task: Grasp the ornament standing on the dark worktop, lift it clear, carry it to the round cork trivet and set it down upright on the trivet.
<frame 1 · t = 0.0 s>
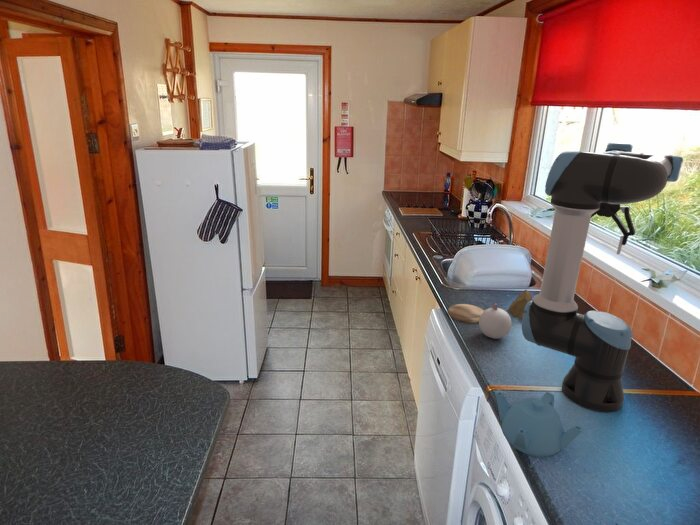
hand: (596, 249, 164), 28 cm above the worktop, fingers open, 13 cm apart
rock: (520, 317, 174), on the worktop
ornament: (492, 336, 159), on the worktop
teapot: (530, 440, 110), on the worktop
trivet: (467, 314, 174), on the worktop
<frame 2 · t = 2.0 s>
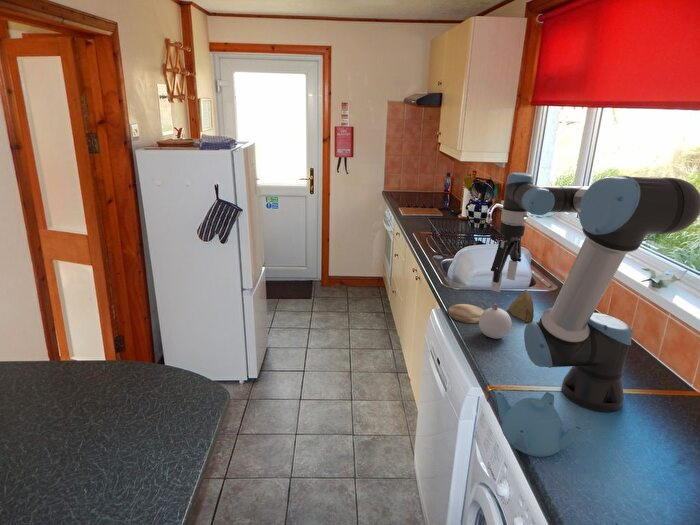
hand: (503, 285, 153), 19 cm above the worktop, fingers open, 13 cm apart
nothing on the worktop moved.
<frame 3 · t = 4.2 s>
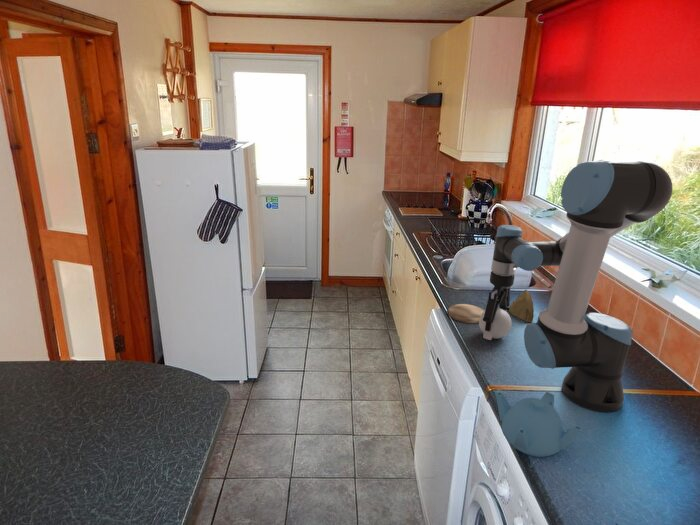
hand: (493, 332, 158), 1 cm above the worktop, fingers closed on ornament, 10 cm apart
ornament: (492, 336, 159), on the worktop, touching gripper
everything else where it was.
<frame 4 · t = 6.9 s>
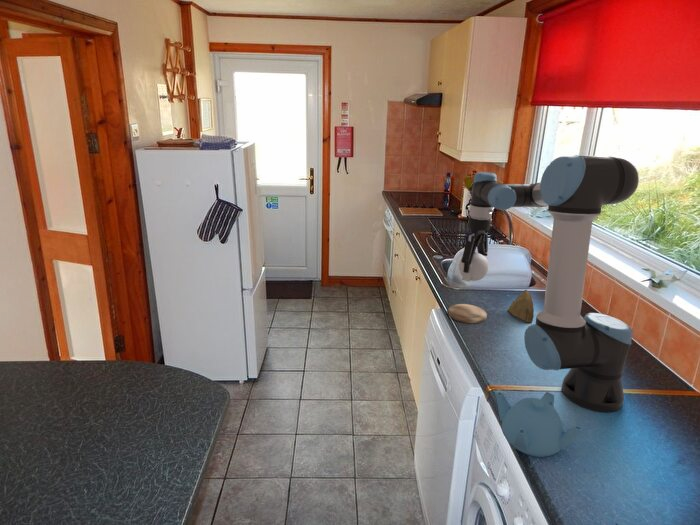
hand: (472, 276, 169), 16 cm above the worktop, fingers closed on ornament, 10 cm apart
ornament: (471, 280, 170), point 14 cm above the worktop, touching gripper
everything else where it was.
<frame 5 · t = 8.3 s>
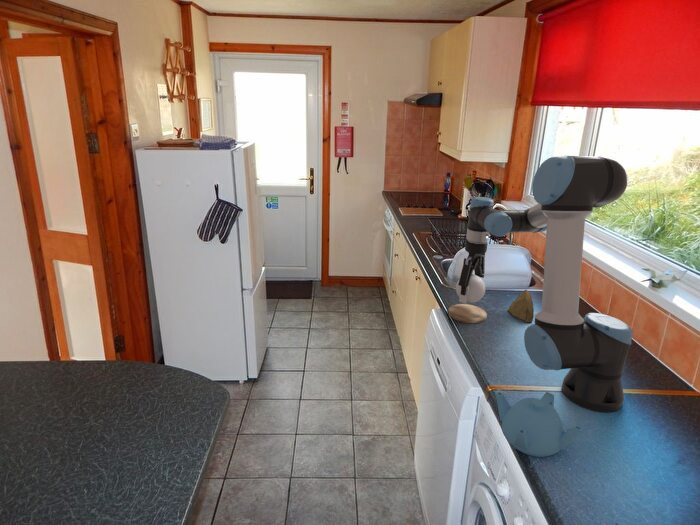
hand: (469, 297, 172), 7 cm above the worktop, fingers closed on ornament, 10 cm apart
ornament: (468, 301, 173), point 5 cm above the worktop, touching gripper
everything else where it was.
when the fingers open (4 cm above the worktop, at t = 9.5 s): ornament drops 1 cm, resting on trivet.
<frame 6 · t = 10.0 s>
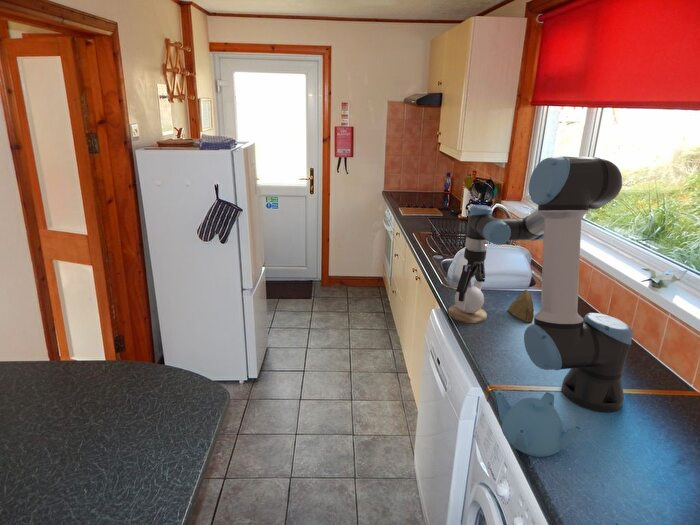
hand: (468, 302, 173), 5 cm above the worktop, fingers open, 13 cm apart
ornament: (467, 312, 174), point 1 cm above the worktop, touching trivet
everything else where it was.
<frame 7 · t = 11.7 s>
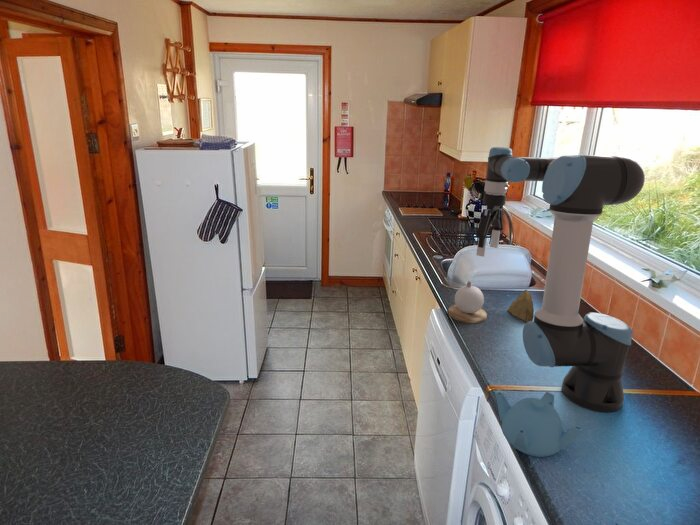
hand: (487, 251, 168), 25 cm above the worktop, fingers open, 13 cm apart
nothing on the worktop moved.
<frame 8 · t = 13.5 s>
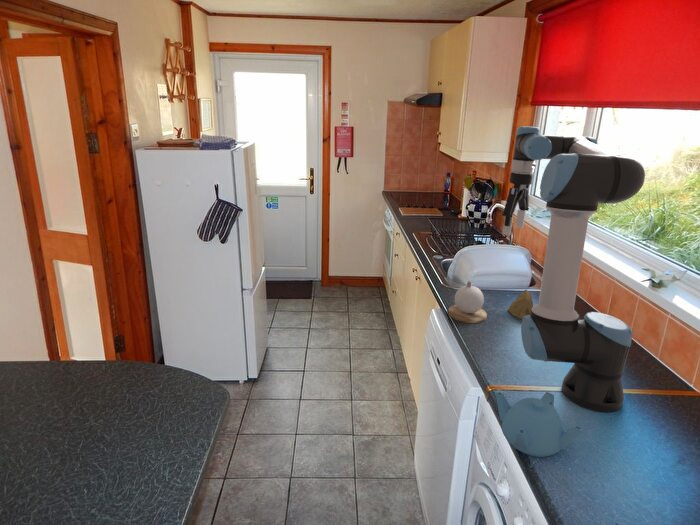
hand: (512, 230, 169), 32 cm above the worktop, fingers open, 13 cm apart
nothing on the worktop moved.
at the end: ornament inside the target area on the trivet (0.2 cm from its centre), point 1.1 cm above the trivet's base; ornament tilted 0°; the gripper is holding nothing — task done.
